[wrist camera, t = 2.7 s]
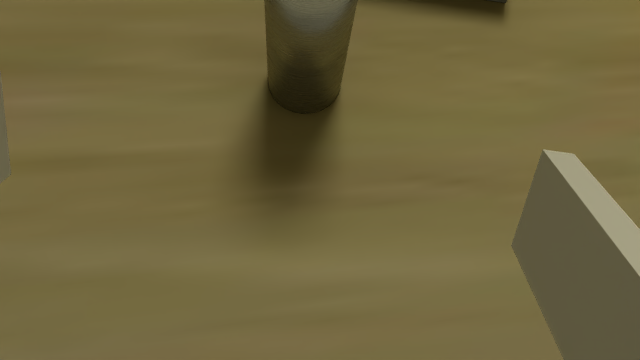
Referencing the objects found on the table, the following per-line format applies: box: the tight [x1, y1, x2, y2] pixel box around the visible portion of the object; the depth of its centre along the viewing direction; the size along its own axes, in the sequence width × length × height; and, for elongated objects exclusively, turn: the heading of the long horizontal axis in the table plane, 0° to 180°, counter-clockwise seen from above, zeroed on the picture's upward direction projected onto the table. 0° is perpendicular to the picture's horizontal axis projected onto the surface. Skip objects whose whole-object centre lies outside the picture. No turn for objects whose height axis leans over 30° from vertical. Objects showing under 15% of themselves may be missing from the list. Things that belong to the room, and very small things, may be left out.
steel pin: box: [264, 0, 357, 114], centre depth 27 cm, size 4×4×12 cm
